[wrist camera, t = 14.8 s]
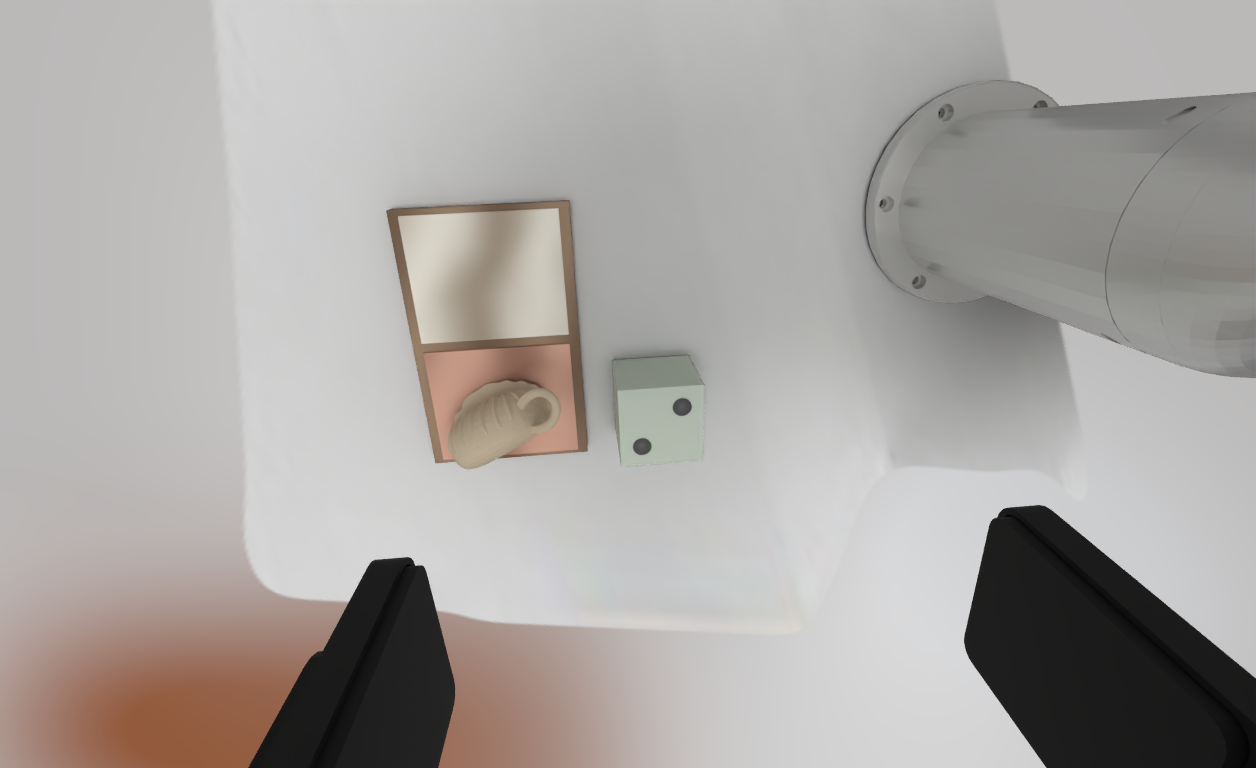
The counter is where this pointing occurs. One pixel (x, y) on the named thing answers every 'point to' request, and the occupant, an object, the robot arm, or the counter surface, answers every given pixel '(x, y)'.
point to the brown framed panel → (492, 310)
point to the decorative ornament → (500, 421)
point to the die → (658, 410)
